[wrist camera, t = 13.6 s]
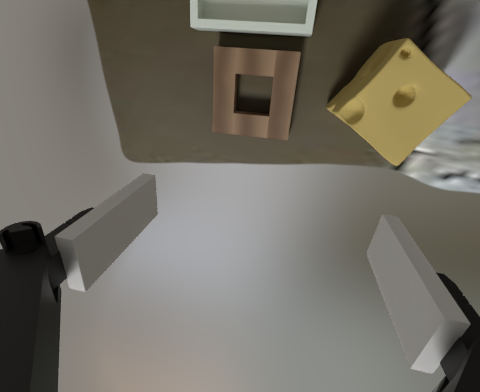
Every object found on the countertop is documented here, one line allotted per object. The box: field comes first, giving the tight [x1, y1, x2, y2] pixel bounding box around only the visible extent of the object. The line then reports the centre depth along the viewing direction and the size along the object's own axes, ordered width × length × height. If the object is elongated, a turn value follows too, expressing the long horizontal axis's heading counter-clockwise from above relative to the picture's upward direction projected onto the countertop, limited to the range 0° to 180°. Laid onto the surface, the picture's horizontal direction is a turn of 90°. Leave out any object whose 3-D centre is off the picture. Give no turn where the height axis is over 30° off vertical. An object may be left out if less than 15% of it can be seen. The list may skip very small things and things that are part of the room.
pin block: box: [213, 46, 301, 140], centre depth 39 cm, size 12×12×2 cm
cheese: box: [326, 38, 472, 166], centre depth 33 cm, size 10×11×10 cm
